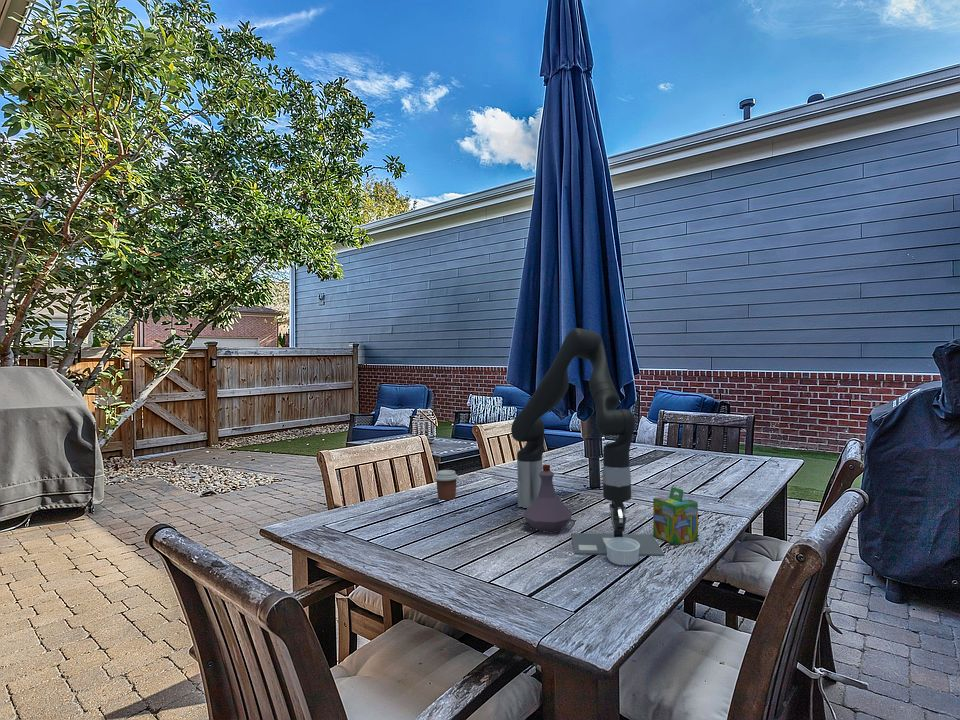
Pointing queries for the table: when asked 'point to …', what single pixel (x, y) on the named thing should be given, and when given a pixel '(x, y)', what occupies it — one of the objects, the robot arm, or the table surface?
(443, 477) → the coffee cup
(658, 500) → the chalk box
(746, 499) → the table surface
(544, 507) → the flask
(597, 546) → the label placard
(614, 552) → the ramekin
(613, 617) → the table surface
